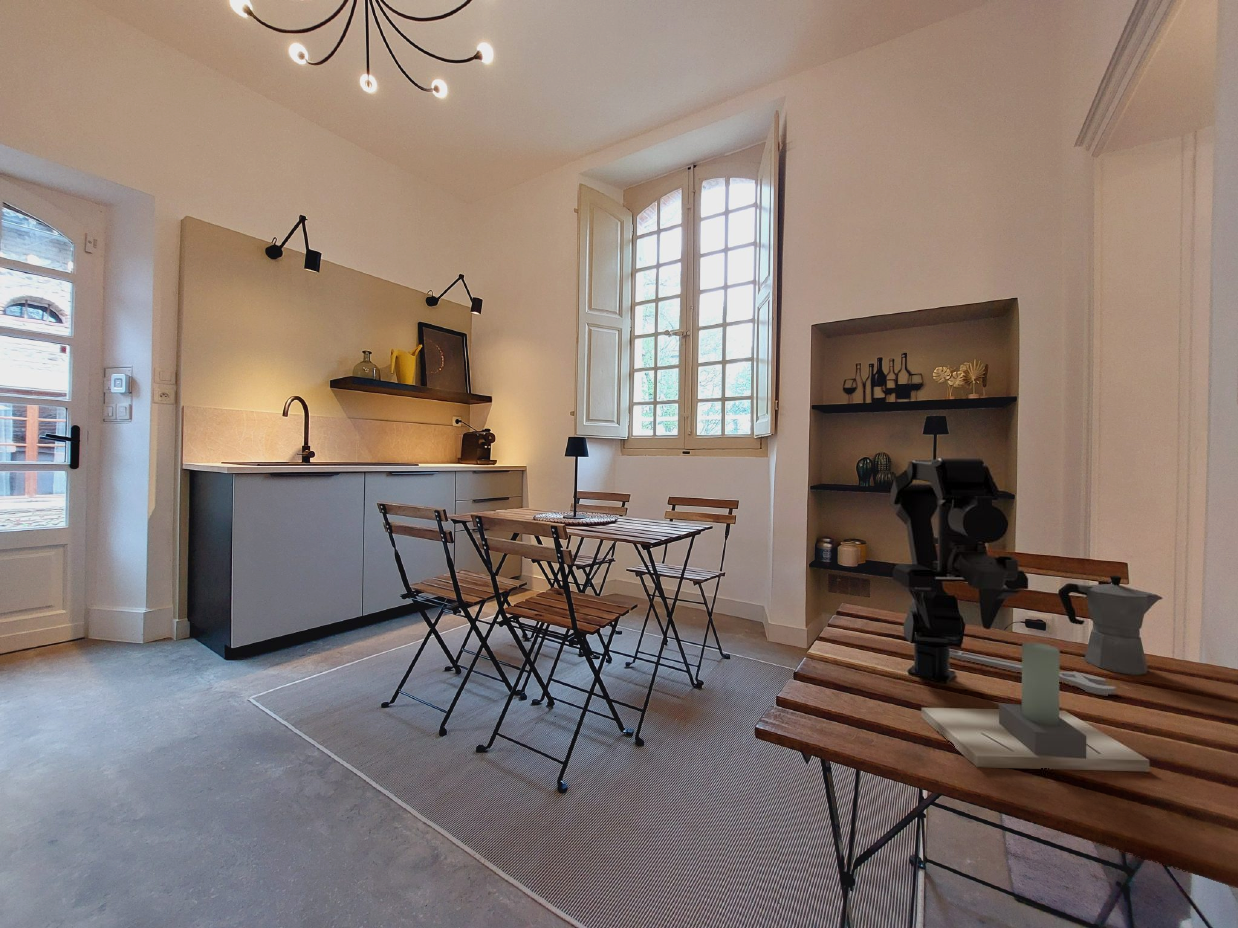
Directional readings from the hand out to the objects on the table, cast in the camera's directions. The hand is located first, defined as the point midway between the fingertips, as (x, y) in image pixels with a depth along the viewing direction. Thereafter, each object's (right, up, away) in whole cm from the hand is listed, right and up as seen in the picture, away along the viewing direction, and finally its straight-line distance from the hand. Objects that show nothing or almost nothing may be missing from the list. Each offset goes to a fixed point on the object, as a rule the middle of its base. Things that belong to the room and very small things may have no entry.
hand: (957, 628), depth 83 cm
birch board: (+3, -13, -10) cm, 17 cm away
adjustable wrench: (+23, -14, +14) cm, 30 cm away
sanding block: (+3, -12, -13) cm, 17 cm away
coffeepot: (+42, -13, +17) cm, 47 cm away
